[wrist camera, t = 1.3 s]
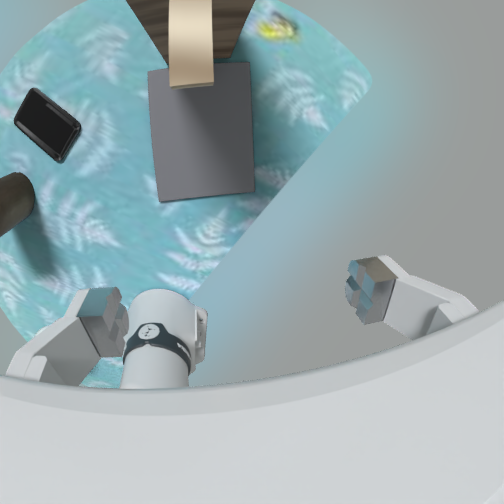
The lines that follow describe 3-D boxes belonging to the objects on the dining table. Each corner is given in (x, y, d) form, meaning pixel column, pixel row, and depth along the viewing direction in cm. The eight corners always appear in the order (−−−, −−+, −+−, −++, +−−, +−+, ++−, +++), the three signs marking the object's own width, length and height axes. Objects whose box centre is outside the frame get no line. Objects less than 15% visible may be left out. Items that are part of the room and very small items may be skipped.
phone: (58, 163, 36) (12, 122, 30) (61, 162, 37) (15, 121, 31) (81, 125, 35) (32, 85, 28) (84, 124, 36) (35, 85, 29)
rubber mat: (254, 191, 46) (254, 191, 45) (159, 200, 44) (159, 201, 43) (249, 62, 36) (249, 62, 36) (148, 72, 34) (147, 71, 33)
